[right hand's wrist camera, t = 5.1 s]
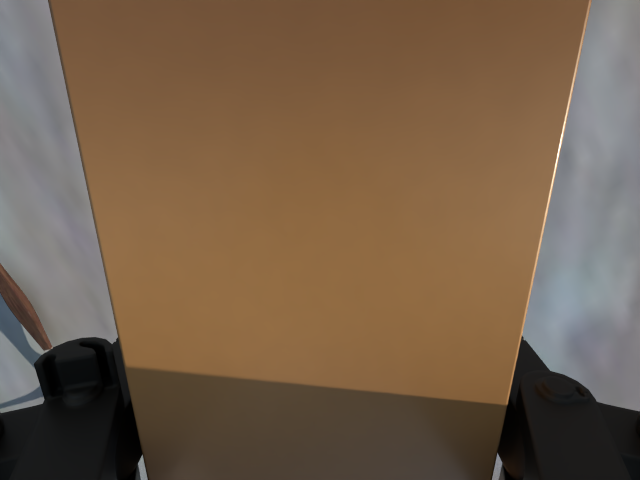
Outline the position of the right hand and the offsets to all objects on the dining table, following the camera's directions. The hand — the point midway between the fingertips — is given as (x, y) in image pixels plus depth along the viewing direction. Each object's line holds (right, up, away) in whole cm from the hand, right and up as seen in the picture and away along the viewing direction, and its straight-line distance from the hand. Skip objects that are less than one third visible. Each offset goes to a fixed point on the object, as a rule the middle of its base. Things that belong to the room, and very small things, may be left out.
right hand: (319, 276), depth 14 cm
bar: (0, +8, -2) cm, 8 cm away
